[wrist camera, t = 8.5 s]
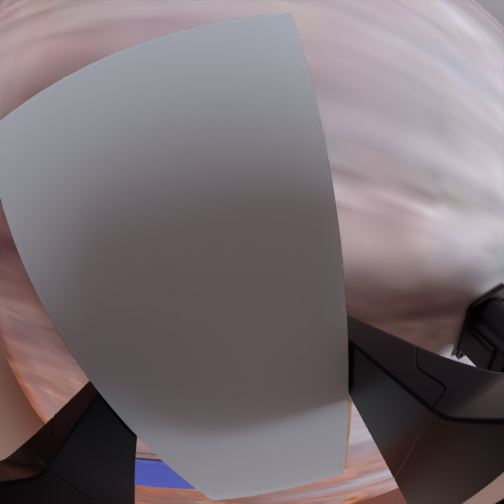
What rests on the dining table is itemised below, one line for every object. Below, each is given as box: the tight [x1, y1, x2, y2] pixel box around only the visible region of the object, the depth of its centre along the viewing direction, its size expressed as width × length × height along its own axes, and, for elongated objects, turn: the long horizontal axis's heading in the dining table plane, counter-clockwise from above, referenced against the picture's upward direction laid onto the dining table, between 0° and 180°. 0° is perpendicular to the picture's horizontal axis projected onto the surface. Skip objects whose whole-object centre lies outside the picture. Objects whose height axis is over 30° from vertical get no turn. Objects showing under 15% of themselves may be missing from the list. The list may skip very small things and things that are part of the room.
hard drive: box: [135, 453, 196, 489], centre depth 22 cm, size 2×8×12 cm
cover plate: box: [0, 13, 348, 500], centre depth 8 cm, size 6×16×3 cm, turn 13°
